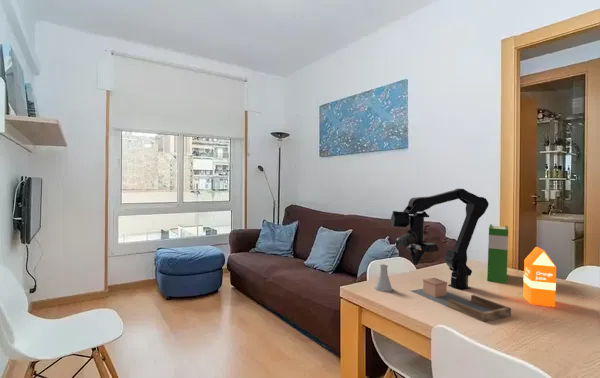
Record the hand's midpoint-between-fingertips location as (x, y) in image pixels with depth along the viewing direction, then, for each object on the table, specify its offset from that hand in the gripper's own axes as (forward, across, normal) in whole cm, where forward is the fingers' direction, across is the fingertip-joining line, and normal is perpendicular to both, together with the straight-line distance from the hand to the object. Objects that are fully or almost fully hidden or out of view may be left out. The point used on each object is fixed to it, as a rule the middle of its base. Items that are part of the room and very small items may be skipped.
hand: (415, 264), depth 139 cm
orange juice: (+10, +31, +31) cm, 45 cm away
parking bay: (+9, +29, 0) cm, 30 cm away
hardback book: (+10, +4, +47) cm, 48 cm away
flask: (+10, -2, -15) cm, 18 cm away
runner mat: (+9, +20, 0) cm, 22 cm away
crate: (+9, +10, 0) cm, 14 cm away
